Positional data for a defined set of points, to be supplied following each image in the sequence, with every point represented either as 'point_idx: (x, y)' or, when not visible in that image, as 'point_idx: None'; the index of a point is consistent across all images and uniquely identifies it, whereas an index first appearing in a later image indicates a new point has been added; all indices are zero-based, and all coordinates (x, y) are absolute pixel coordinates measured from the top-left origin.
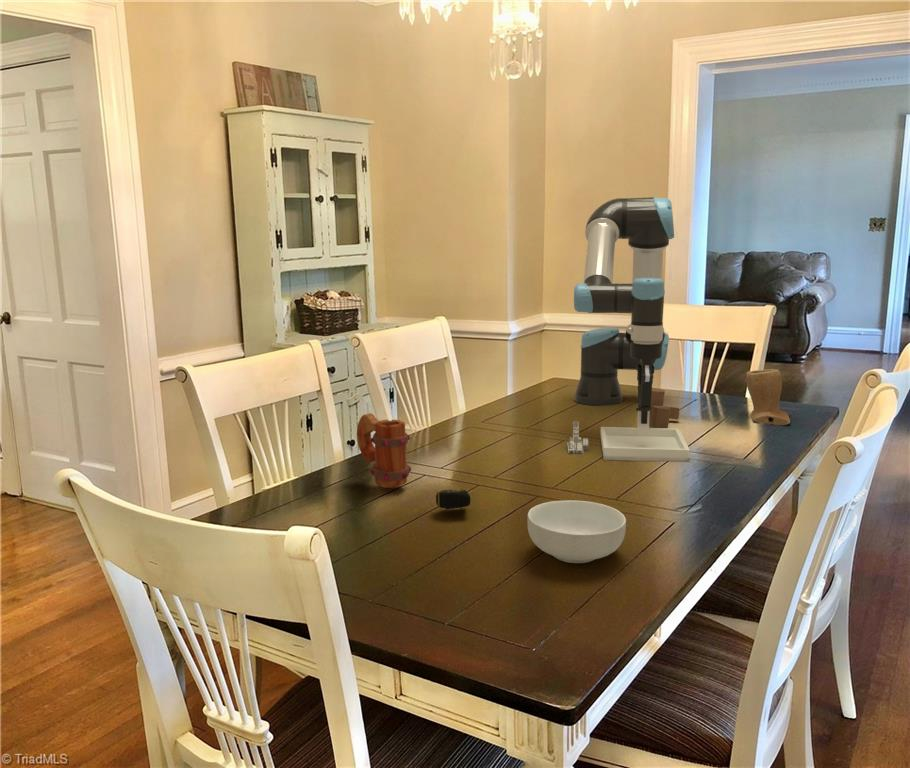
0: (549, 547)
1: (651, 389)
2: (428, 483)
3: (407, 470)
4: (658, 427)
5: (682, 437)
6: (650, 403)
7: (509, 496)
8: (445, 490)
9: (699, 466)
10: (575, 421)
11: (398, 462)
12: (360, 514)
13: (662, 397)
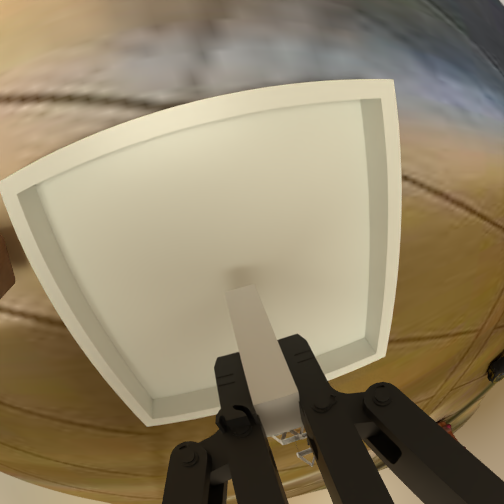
0: None
1: (500, 479)
2: (434, 417)
3: (446, 430)
4: (7, 275)
5: (159, 115)
6: (423, 414)
7: (486, 350)
8: (494, 381)
9: (393, 54)
10: (312, 465)
11: (454, 436)
12: (478, 396)
13: None
